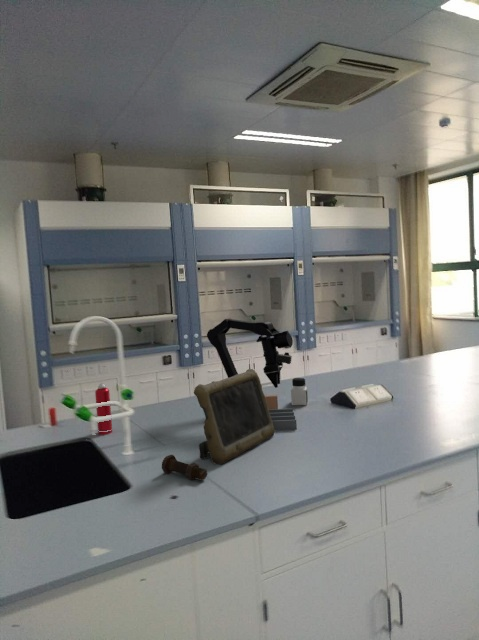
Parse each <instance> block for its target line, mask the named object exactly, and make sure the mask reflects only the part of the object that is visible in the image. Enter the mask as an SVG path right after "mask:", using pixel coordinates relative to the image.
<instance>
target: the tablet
mask: <svg viewBox="0 0 479 640" xmlns="http://www.w3.org/2000/svg"><path fill="white" fill-rule="evenodd" d="M193 394H194V396H195V397H196V399H197V401H198V404H199V407H200V408H202V411H203V414H204V417H205V420H204V422H203V424H204V425H203V430H204V431H203V432H204V435H205V438H206V440H204V441H202V442H201V443H199V445H198V449H199V458H200V459H201V460H204V459H207V458H208V453H209V454H210V455H209V456H210V459H211V461H212V463H213V464H215V465H223V464H225V463H226V462H228V461H229V460H231V459H233V458H235V457H237V456H240V454H242V453H244V452H246V451H248V450H249V449H251V448H252V447H255V446H257V445H258V444H260V443H262V442H264V441H265V440H268V439H269V438H272V437H273V436H274V433H275V430H274V427H273V423H272V419H271V416H270V413H269V410H268V405H267V402H266V399H265V395H266V394H264V391H263V386H262V383H261V379H260V377H259V375H258V373H257V372H256V371H255V370H254V369H253V368H250V369H249V368H248V369H246V371H244V372H241V373H238V374H236V375H235V376H232V377H230V378H228V377H227V378H223V379H220V380H217V381H211V382H210V383H207V384H201V383H200V384H199V383H198V385H196V386H195V388H194V390H193Z"/></svg>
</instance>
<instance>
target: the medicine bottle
mask: <svg viewBox="0 0 479 640" xmlns="http://www.w3.org/2000/svg"><path fill="white" fill-rule="evenodd" d="M291 383H292V385H291V386H292V387H291V390H290V397H291V398H290V399H291V405H292V406H308V397H309V396H308V387H307V386H306V378H303V377H294V378H293V379H292V381H291Z"/></svg>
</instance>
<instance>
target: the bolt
mask: <svg viewBox="0 0 479 640" xmlns="http://www.w3.org/2000/svg"><path fill="white" fill-rule="evenodd" d="M161 469H162V471H163V473H165V474H167V475H169V474H170V473H174V472H175V473H179V474H181V475H184V476H185V477H186V478H187V479H188V480H191V481H193V480H194V481H195V479H197V480H200V481H204V480H205V479H206V477H208V471H207V469H205V468H203V467H200V465H199V464H198V463H197V462H192V463H187V462H182V461H178V460H177V458H176V456H175V455H174V454H169V455H166V456H165V457H164V458H163V460H162V461H161Z"/></svg>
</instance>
